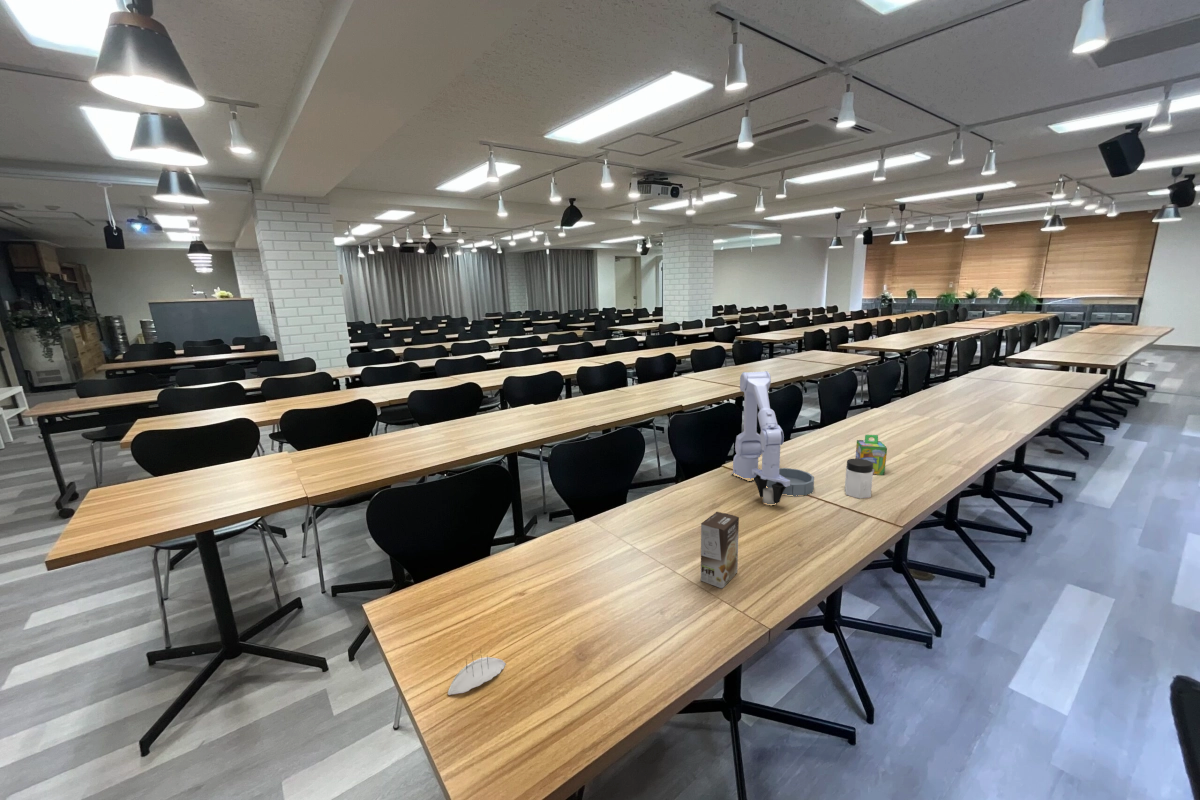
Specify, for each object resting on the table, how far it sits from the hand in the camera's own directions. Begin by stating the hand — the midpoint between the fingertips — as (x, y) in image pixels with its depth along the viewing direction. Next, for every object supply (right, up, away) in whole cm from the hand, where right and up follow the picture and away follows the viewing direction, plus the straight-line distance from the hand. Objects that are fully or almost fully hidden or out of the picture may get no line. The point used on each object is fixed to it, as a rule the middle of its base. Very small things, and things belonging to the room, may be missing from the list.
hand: (769, 499), depth 163 cm
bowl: (+12, +2, +13) cm, 18 cm away
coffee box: (-28, -12, -41) cm, 51 cm away
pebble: (0, -1, 0) cm, 2 cm away
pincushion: (-83, -21, -71) cm, 111 cm away
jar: (+33, +1, +5) cm, 34 cm away
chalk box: (+50, +6, +26) cm, 56 cm away
